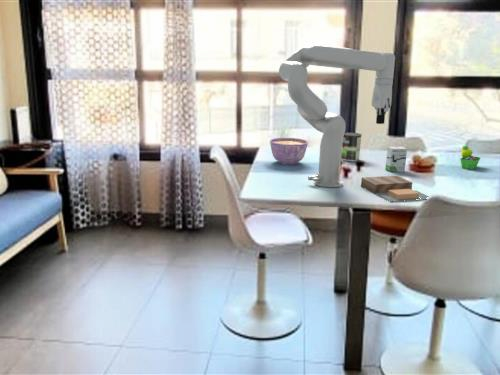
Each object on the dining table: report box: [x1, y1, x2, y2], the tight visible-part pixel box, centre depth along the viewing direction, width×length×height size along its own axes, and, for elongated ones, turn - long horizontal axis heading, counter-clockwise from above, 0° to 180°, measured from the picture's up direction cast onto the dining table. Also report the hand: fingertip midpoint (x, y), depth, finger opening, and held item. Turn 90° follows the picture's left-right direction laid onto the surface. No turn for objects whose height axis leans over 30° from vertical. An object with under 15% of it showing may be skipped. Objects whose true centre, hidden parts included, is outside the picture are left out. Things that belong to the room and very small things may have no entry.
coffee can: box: [341, 131, 362, 162], centre depth 283 cm, size 10×10×14 cm
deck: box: [360, 175, 413, 195], centre depth 228 cm, size 18×12×4 cm, turn 106°
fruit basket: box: [460, 145, 481, 170], centre depth 272 cm, size 11×9×11 cm
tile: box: [388, 189, 419, 199], centre depth 216 cm, size 10×7×2 cm
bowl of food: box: [269, 137, 309, 165], centre depth 272 cm, size 20×20×12 cm
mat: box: [375, 190, 430, 203], centre depth 217 cm, size 20×12×1 cm, turn 106°
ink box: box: [384, 146, 408, 172], centre depth 261 cm, size 9×5×12 cm, turn 101°
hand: (380, 123), depth 234 cm, fingers closed
